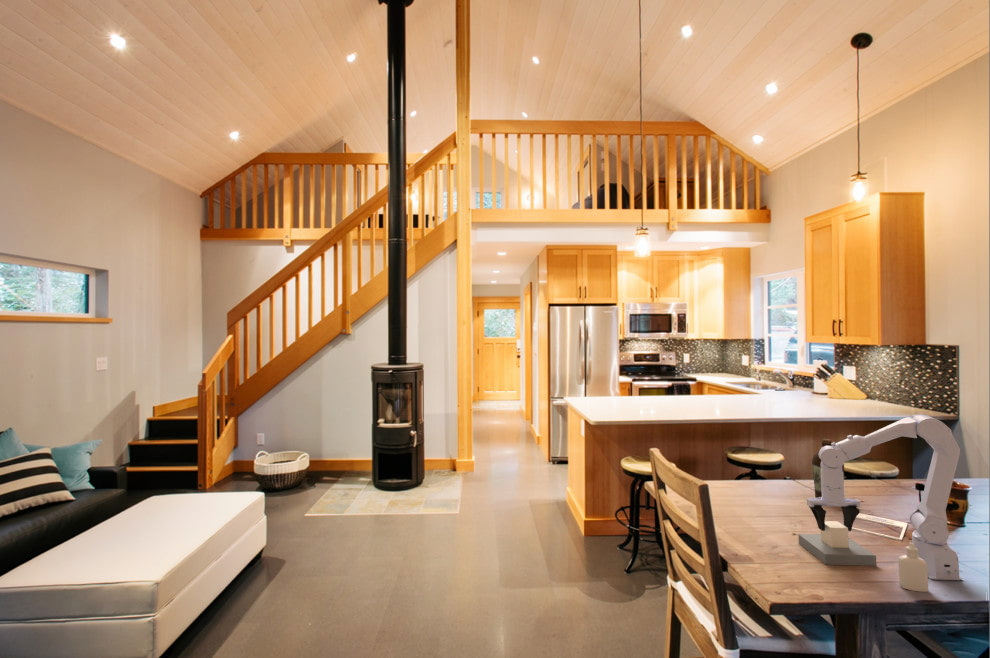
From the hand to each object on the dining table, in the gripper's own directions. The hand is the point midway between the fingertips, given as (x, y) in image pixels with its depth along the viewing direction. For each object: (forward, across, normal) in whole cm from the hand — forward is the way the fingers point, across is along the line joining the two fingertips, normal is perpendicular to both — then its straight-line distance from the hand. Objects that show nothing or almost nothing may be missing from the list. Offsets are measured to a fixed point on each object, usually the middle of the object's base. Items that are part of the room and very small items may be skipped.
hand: (834, 529), depth 140 cm
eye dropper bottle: (+8, -8, +19) cm, 22 cm away
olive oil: (+8, -26, -47) cm, 54 cm away
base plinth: (+7, 0, 0) cm, 7 cm away
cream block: (+4, 0, 0) cm, 5 cm away
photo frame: (+8, -27, -22) cm, 36 cm away
